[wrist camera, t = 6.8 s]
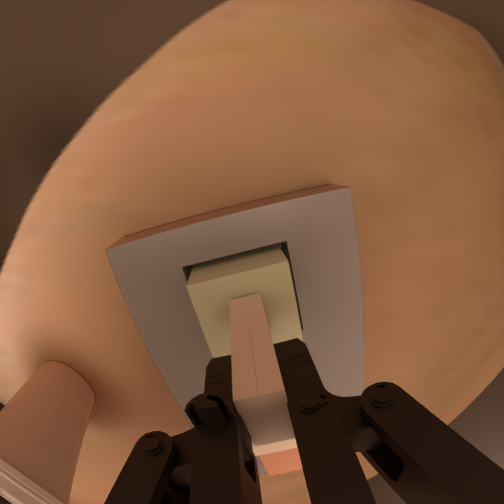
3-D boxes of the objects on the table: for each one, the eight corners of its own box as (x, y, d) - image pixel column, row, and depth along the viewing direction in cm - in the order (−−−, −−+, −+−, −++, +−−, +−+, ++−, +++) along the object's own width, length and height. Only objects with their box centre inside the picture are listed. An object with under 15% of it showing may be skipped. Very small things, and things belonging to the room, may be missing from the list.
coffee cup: (58, 333, 19) (-31, 458, 4) (127, 407, 21) (91, 540, 7) (18, 362, 19) (-46, 454, 5) (76, 422, 22) (38, 521, 8)
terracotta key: (265, 449, 23) (269, 476, 19) (254, 424, 21) (258, 454, 18) (313, 437, 23) (321, 463, 19) (308, 411, 21) (318, 440, 18)
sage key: (217, 331, 18) (216, 364, 14) (194, 262, 16) (186, 285, 13) (290, 313, 18) (303, 343, 15) (275, 242, 16) (288, 260, 13)
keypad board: (229, 457, 25) (230, 478, 22) (123, 236, 17) (105, 249, 14) (350, 428, 25) (359, 447, 22) (331, 183, 17) (349, 187, 14)
